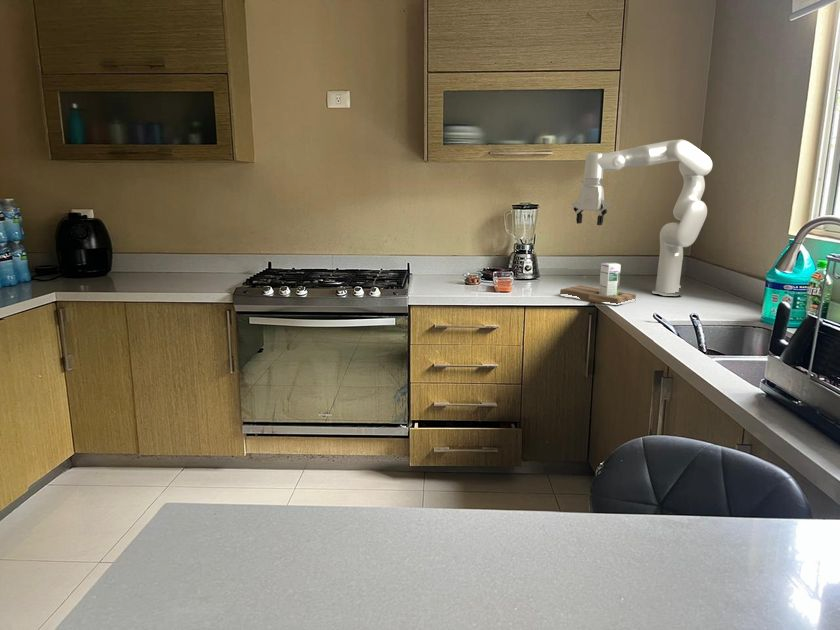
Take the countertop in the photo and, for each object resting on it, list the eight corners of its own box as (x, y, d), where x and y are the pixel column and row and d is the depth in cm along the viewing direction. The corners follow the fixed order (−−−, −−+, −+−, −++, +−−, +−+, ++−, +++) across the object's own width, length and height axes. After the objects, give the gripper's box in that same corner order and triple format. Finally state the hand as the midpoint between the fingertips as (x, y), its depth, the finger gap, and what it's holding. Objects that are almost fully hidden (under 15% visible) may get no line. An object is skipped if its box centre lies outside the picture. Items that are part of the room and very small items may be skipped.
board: (579, 292, 273) (580, 285, 272) (635, 301, 255) (636, 294, 254) (560, 296, 261) (560, 289, 261) (616, 306, 244) (617, 299, 243)
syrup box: (606, 299, 251) (609, 264, 248) (597, 296, 257) (601, 262, 253) (618, 299, 253) (621, 264, 250) (609, 296, 258) (613, 262, 255)
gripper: (569, 182, 260) (566, 223, 264) (607, 183, 248) (603, 226, 252) (579, 182, 265) (575, 222, 269) (616, 183, 253) (612, 225, 257)
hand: (589, 224), depth 260 cm, fingers open, 9 cm apart
